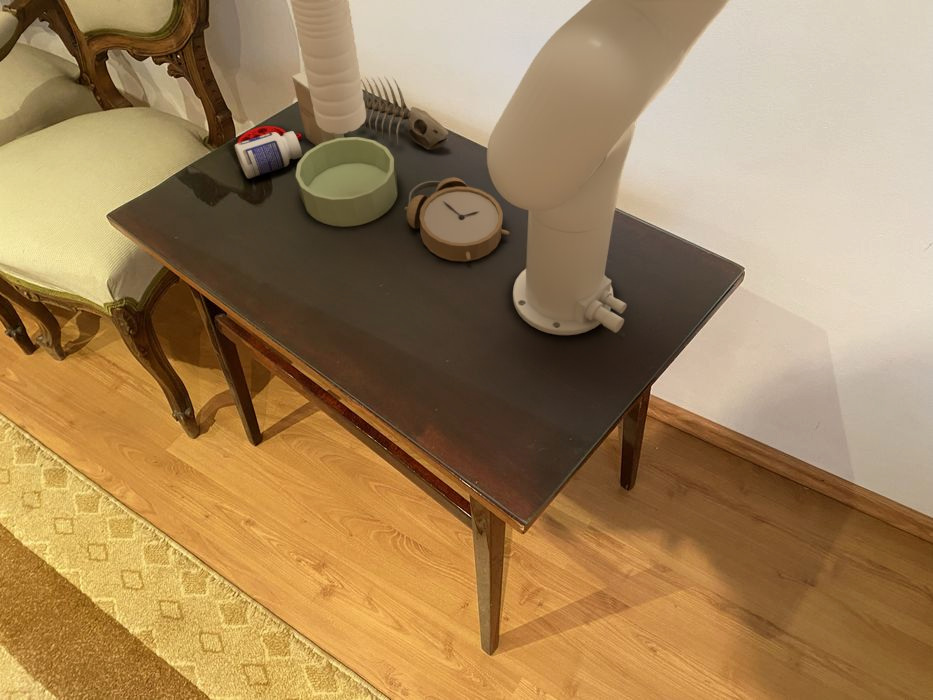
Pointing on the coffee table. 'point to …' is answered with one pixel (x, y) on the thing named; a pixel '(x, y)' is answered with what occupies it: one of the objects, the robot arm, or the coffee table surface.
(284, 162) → the pill bottle
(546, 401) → the coffee table surface
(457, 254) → the alarm clock
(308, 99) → the box
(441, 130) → the fish skeleton
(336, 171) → the holder
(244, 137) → the ornament
